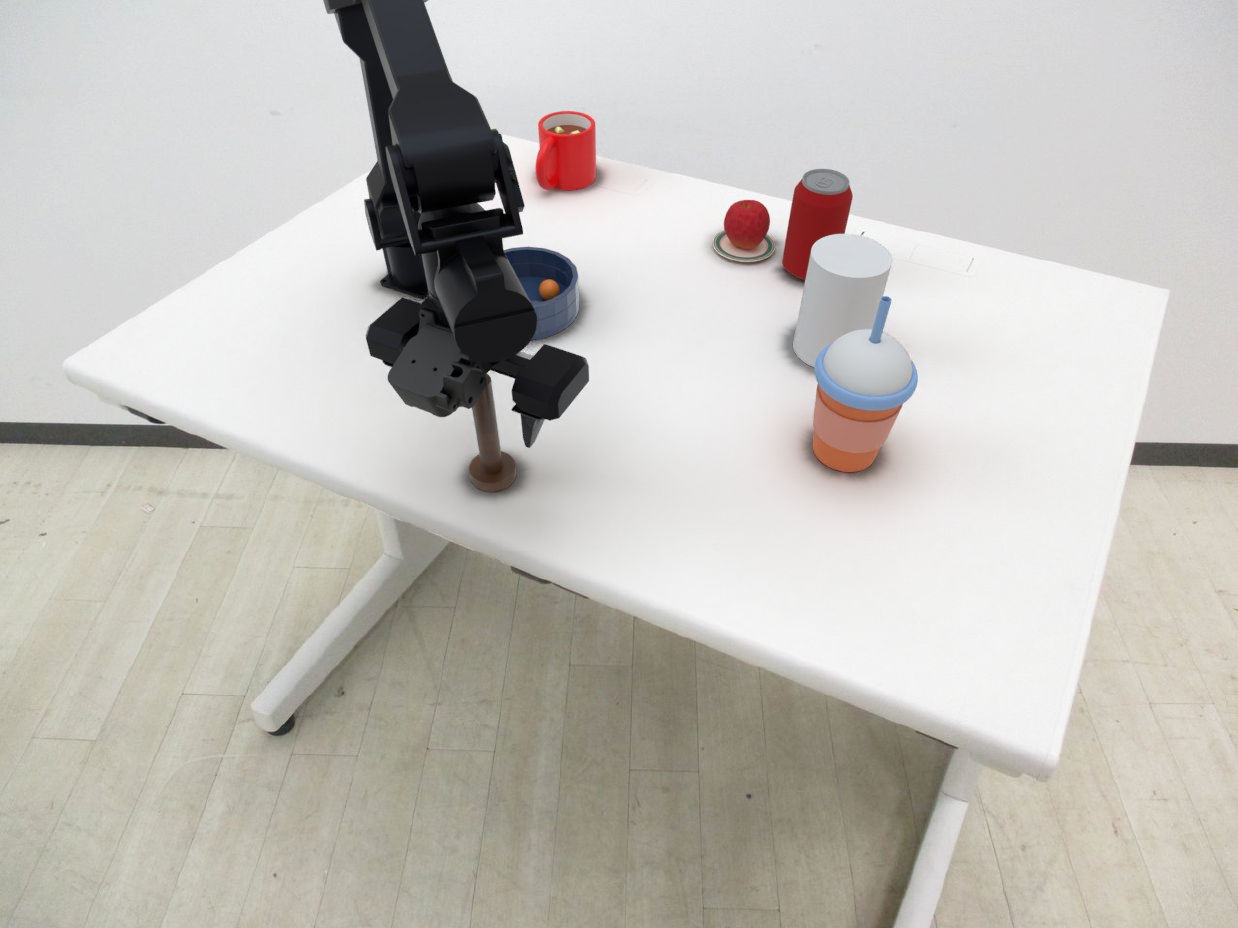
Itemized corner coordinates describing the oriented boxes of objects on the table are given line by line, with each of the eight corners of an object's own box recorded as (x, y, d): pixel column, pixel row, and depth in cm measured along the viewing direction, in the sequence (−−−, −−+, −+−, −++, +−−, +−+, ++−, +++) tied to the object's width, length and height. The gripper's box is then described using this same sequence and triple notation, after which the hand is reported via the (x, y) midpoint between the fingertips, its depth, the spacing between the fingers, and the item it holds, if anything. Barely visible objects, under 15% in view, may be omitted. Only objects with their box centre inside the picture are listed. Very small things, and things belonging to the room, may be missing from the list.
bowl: (454, 322, 98) (448, 289, 94) (510, 269, 105) (506, 237, 102) (545, 352, 94) (543, 319, 91) (597, 295, 101) (596, 263, 98)
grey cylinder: (874, 337, 96) (900, 245, 87) (856, 380, 91) (882, 285, 82) (804, 319, 98) (823, 227, 90) (783, 359, 93) (801, 265, 85)
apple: (704, 256, 107) (708, 210, 103) (723, 226, 112) (728, 180, 108) (765, 270, 105) (772, 223, 100) (781, 238, 110) (789, 192, 106)
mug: (517, 196, 118) (512, 141, 112) (557, 159, 125) (554, 106, 119) (567, 209, 115) (565, 153, 110) (605, 170, 123) (605, 117, 117)
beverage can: (844, 265, 106) (864, 175, 98) (822, 291, 102) (842, 200, 94) (794, 249, 109) (810, 160, 100) (771, 274, 105) (786, 184, 96)
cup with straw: (891, 491, 80) (946, 339, 67) (794, 476, 81) (829, 324, 68) (889, 425, 86) (939, 275, 73) (799, 413, 87) (832, 263, 74)
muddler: (461, 482, 80) (443, 386, 72) (486, 453, 83) (471, 357, 74) (500, 498, 79) (486, 402, 70) (525, 467, 82) (514, 372, 73)
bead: (535, 301, 99) (534, 283, 97) (546, 290, 101) (545, 273, 99) (553, 306, 98) (552, 289, 97) (563, 296, 100) (562, 278, 98)
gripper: (299, 305, 63) (347, 451, 74) (513, 379, 57) (529, 525, 69) (391, 234, 70) (422, 378, 81) (590, 294, 64) (593, 440, 76)
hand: (486, 428), depth 77 cm, fingers open, 9 cm apart
